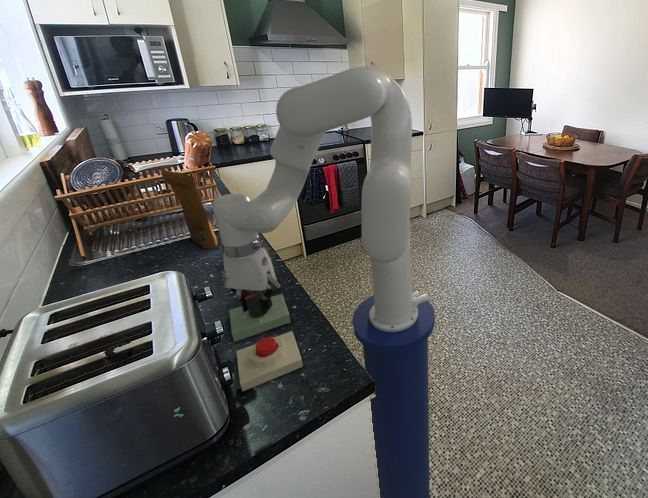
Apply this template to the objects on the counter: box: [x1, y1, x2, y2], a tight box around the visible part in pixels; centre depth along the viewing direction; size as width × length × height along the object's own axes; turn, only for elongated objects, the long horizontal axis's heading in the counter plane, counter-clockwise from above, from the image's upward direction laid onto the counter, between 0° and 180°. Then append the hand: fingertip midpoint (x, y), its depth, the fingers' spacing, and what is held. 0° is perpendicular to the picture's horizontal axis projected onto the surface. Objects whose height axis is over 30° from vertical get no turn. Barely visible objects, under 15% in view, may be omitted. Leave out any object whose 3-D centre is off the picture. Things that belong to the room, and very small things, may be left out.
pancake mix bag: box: [160, 169, 219, 250], centre depth 122 cm, size 7×19×28 cm, turn 55°
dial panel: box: [228, 293, 291, 342], centre depth 89 cm, size 13×10×3 cm
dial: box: [245, 290, 268, 318], centre depth 87 cm, size 4×4×5 cm
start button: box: [255, 336, 277, 357], centre depth 75 cm, size 4×4×2 cm
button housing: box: [235, 330, 304, 392], centre depth 76 cm, size 12×10×4 cm
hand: (257, 308), depth 88 cm, fingers closed on dial, 4 cm apart
